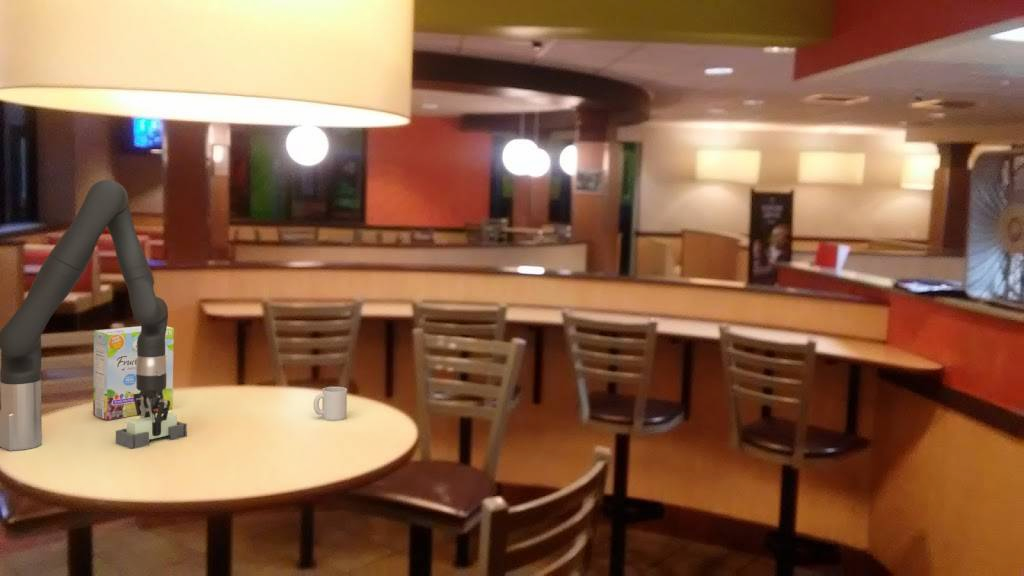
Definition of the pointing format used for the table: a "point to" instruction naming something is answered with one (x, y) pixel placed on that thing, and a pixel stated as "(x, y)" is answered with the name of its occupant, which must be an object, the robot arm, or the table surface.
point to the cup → (332, 403)
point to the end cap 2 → (177, 431)
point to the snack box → (122, 371)
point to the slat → (150, 425)
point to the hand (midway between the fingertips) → (151, 433)
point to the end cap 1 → (132, 439)
